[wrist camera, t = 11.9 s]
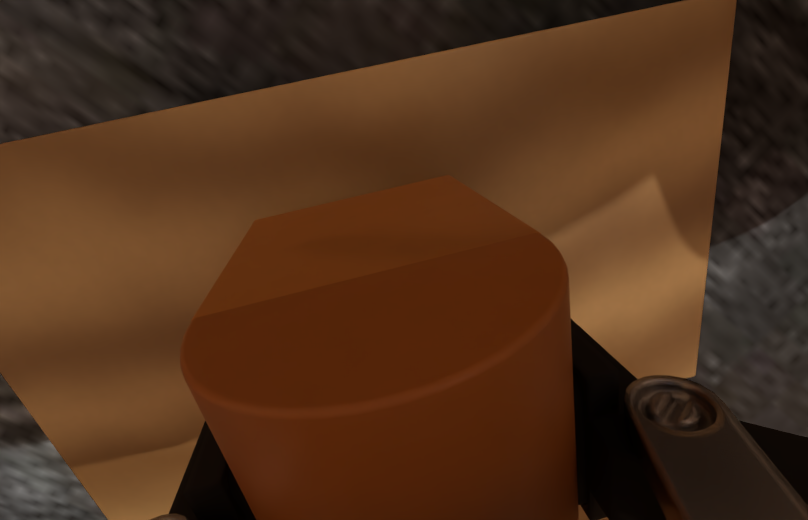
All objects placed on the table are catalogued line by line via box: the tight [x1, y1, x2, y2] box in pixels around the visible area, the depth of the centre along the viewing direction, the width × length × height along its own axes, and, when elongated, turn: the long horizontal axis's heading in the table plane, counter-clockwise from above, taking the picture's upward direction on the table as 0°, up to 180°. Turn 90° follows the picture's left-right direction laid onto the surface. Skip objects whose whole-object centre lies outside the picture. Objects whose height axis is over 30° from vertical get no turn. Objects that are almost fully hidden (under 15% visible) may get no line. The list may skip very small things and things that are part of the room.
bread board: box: [0, 0, 737, 520], centre depth 13 cm, size 13×22×2 cm, turn 101°
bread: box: [180, 175, 579, 520], centre depth 8 cm, size 8×5×8 cm, turn 11°
